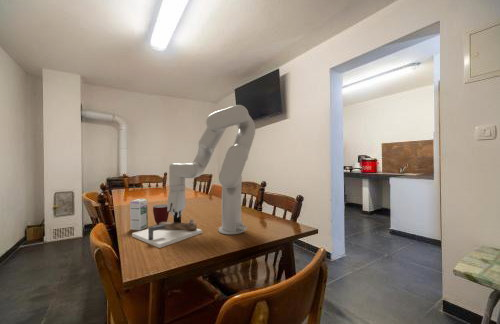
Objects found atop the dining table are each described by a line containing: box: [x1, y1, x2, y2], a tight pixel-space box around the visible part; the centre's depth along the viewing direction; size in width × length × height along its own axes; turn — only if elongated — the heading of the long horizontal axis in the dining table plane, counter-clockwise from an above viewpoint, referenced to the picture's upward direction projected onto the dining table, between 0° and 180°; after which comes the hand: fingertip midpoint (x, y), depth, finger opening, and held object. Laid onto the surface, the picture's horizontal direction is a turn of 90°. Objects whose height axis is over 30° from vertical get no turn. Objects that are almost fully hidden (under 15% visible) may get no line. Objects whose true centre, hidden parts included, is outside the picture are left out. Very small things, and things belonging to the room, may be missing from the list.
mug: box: [152, 203, 170, 225], centre depth 119 cm, size 11×8×10 cm
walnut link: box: [159, 218, 198, 231], centre depth 106 cm, size 18×5×5 cm, turn 80°
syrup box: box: [129, 198, 149, 231], centre depth 112 cm, size 6×6×14 cm
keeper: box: [147, 224, 166, 240], centre depth 94 cm, size 7×2×5 cm, turn 132°
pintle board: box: [131, 228, 203, 249], centre depth 102 cm, size 22×22×2 cm
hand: (177, 224), depth 110 cm, fingers closed
